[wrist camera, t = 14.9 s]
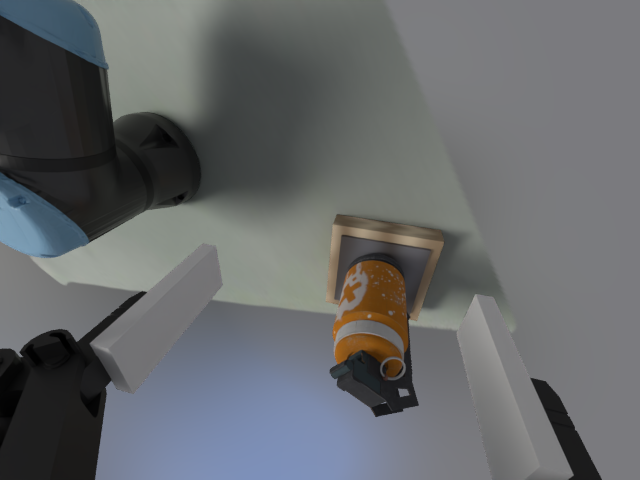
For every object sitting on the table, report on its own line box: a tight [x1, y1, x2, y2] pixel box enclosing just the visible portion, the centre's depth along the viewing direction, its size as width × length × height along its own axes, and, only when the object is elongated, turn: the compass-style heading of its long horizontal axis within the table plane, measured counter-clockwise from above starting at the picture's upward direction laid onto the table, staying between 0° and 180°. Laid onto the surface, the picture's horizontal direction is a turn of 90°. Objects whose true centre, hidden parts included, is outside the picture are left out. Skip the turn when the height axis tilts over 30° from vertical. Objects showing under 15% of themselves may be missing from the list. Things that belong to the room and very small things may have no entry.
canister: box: [330, 254, 419, 417], centre depth 35 cm, size 9×11×20 cm
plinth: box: [326, 215, 444, 321], centre depth 45 cm, size 16×16×4 cm
